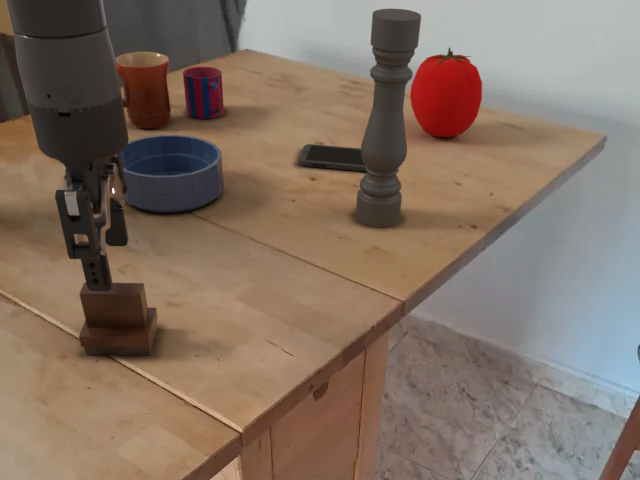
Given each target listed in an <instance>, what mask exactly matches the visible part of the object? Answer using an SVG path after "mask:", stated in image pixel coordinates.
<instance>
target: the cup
mask: <svg viewBox="0 0 640 480" xmlns="http://www.w3.org/2000/svg"><path fill="white" fill-rule="evenodd" d="M182 78H183V88H184V97H185V98H184V99H185V109H186V114H187V115H188V116H190V117H192V118H193V119H200V120H201V119H202V120H209V119H215V118H219V117H221V116H223V115H224V113H225V106H224V91H223V90H224V88H223V74H222V70H220V69H219V68H216V67H211V66H193V67H189V68H186V69H185V70H183V71H182Z"/></svg>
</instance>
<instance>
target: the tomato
mask: <svg viewBox="0 0 640 480" xmlns="http://www.w3.org/2000/svg"><path fill="white" fill-rule="evenodd" d="M468 57H471V55H462V54H454V51H452V50H451V47H448V50H447V54H442V53H441V54H435V55H431V56H429V57H426V58H425V59H424V60H423V61H422V62H421V63H420V65H419V66H418V68H417V70H416V72H415V75H414V78H413V80H412V83H411V86H410V94H409V98H410V105H411V109H412V112H413V114H414V118H415V120H416V121H417V122H418V125H419V126H420V127H421V129H422V131H424V132H425V133H426V134H427V135H431V136H432V137H433V136H434V137H440V138H454V137H456V136H459V135H462V134H464V133H465V132H466V131H468V130H469V128H471V126H472V125H473V123H474V122H475V120H476V119H477V117H478V116H479V115H478V114H479V111H480V107H481V103H482V100H483V82H482V79H481V76H480V73H479V70H478V67H477V66H476V65H474V64H473V63H472V62H471V60H470V59H469V58H468Z"/></svg>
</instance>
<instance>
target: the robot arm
mask: <svg viewBox="0 0 640 480" xmlns="http://www.w3.org/2000/svg"><path fill="white" fill-rule="evenodd" d="M5 4H6V8H7V13H8V17H9V20H10V25H11V28H12V33H13V39H14V45H15V55H16V62H17V66H18V71H19V76H20V79H21V83H22V87H23V91H24V95H25V99H26V103H27V107H28V110H29V114H30V119H31V123H32V126H33V127H32V128H33V131H34V134H35V139H36V142H37V146H38V149H39V151H41V153H42V154H43V155H44V156H46V157H48V158H50V159H52V160H56V161H58V162H60V163H61V164H62V165H64V168H65V169H64V171H65V174H63V178H62V183H63V189H56V190H55V192H54V193H55V194H54V199H55V203H56V207H57V211H58V215H59V220H60V226H61V229H62V234H63V239H64V242H65V243H64V244H65V245H66V246H65V247H66V253H67V256H68V258H69V260H80V263H81V267H82V270H83V271H82V272H83V275H84V280H85V282H86V284H87V287H88V289H89V290H91V291H109V290H111V287H112V285H113V283H114V282H113V278H112V273H111V268H110V263H109V259H108V253H107V246H109V247H126V246H127V245H128V243H129V240H130V238H129V234H128V228H127V223H126V222H127V221H126V218H125V212H124V209H125V207H126V206H125V205H126V202H125V199H124V196H123V194H126V193H127V185H126V181H125V175H124V170H123V165H122V159H121V154H120V152H121V151H123V150H124V149H125V148H126V146H127V144H128V142H129V139H130V138H129V131H128V125H127V119H126V114H125V108H124V106H123V100H122V98H123V95H122V88H121V82H120V76H119V75H118V70H117V64H116V59H115V58H116V54H115V50H114V47H113V44H112V41H111V40H112V39H111V37H110V33H109V28H108V24H107V23H108V22H107V17H106V11H105V5H104V0H5ZM94 215H99V216H98V217H95V216H94ZM84 235H85V236H86V237H87V240H88V241H84Z"/></svg>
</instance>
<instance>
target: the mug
mask: <svg viewBox="0 0 640 480" xmlns="http://www.w3.org/2000/svg"><path fill="white" fill-rule="evenodd" d="M115 59H116V64H117V70H118V76H119V77H120V78H121V80H122V86H123V94H124V95H123V97H122V100H123V106H124V109H125V110H126V111H125V112H126V113H127V117H128V119H129V123H131V125H133V126H134V127H135V128H138V129H143V130H155V129H161V128H164V127H166V126H167V125H168V124H169V123H170V122H171V116H172V107H171V99H170V92H169V86H168V71H169V66H170V65H169V64H170V58H169V56H168V55H166V54H163V53H161V52H160V53H159V52H153V51H134V52H128V53H124V54H120V55H118V56H117V57H115Z"/></svg>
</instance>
